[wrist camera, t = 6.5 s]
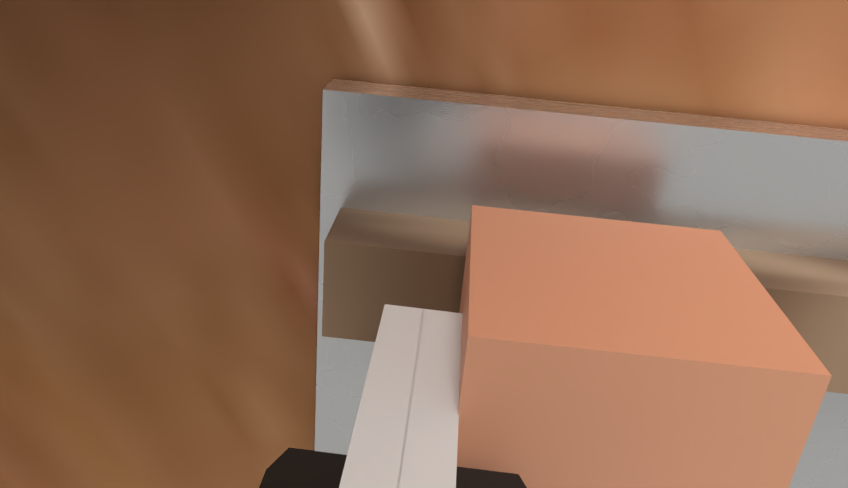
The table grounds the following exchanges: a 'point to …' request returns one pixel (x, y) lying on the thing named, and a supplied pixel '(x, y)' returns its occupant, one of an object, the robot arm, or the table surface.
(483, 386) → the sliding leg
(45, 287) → the table surface
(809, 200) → the bolt plate
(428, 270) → the rail and fixed leg
